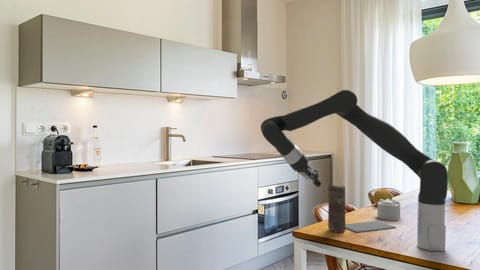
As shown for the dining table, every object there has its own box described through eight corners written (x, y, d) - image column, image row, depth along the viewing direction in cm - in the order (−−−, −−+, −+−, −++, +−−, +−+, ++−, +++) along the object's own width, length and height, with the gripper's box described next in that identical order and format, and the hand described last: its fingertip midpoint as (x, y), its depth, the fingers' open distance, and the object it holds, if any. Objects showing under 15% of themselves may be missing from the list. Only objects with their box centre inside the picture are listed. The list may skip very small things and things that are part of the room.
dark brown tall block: (324, 229, 170) (325, 184, 169) (338, 227, 172) (339, 183, 172) (334, 233, 163) (335, 187, 162) (348, 232, 165) (349, 186, 165)
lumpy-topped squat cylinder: (375, 217, 192) (376, 200, 192) (381, 213, 203) (381, 196, 203) (397, 220, 187) (398, 203, 186) (402, 215, 198) (402, 198, 197)
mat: (356, 232, 164) (356, 231, 164) (339, 225, 175) (339, 224, 175) (395, 228, 173) (395, 226, 173) (376, 221, 184) (376, 220, 184)
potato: (371, 206, 219) (371, 189, 219) (374, 202, 230) (375, 186, 230) (390, 208, 214) (390, 190, 214) (393, 204, 225) (393, 187, 225)
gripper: (308, 152, 153) (333, 181, 158) (292, 150, 165) (315, 177, 170) (297, 165, 151) (322, 194, 156) (281, 162, 163) (305, 189, 168)
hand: (319, 185), depth 163 cm, fingers closed
